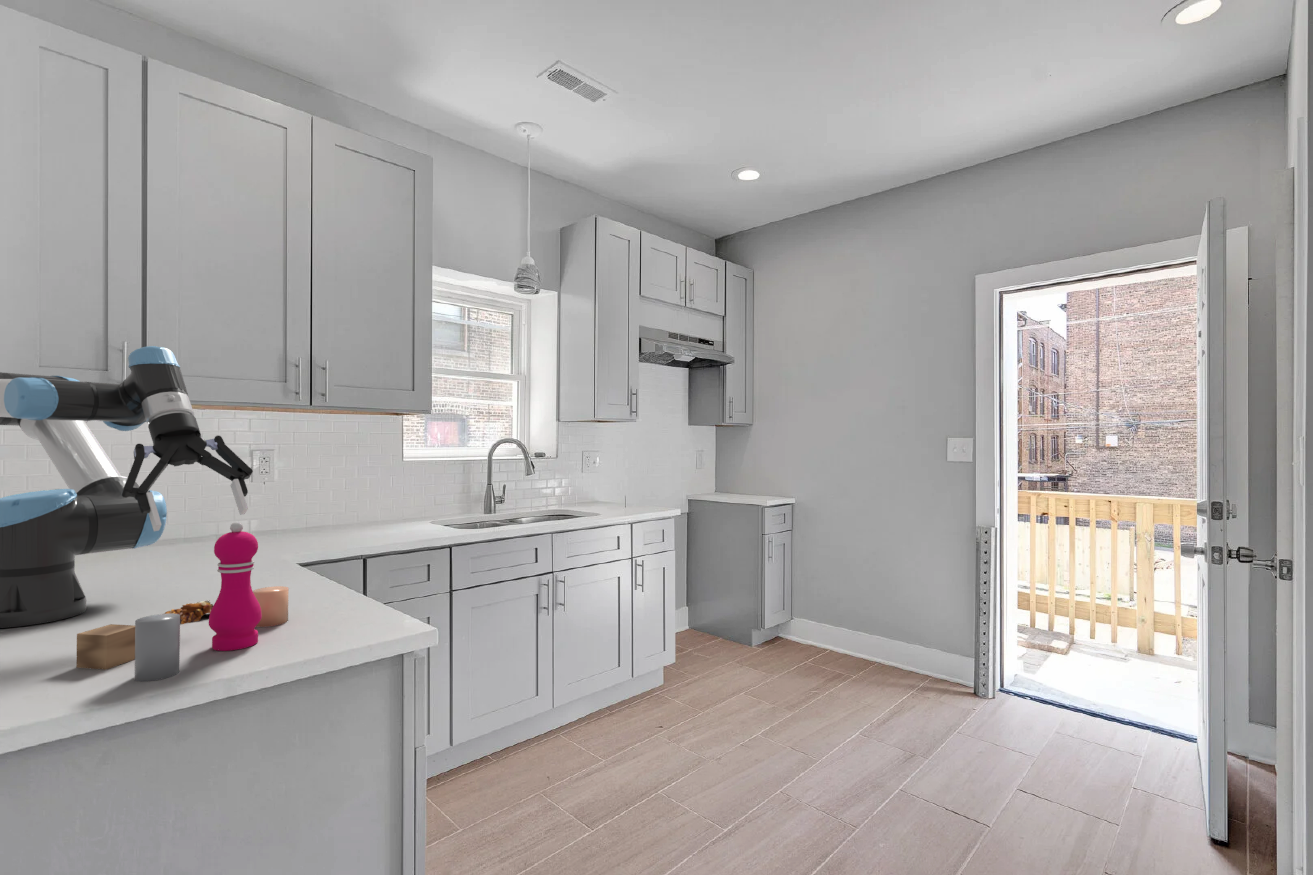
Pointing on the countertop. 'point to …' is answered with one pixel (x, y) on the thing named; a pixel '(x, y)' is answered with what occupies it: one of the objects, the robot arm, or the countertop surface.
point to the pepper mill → (235, 592)
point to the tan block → (106, 646)
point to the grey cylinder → (157, 647)
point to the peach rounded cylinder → (272, 605)
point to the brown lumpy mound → (192, 611)
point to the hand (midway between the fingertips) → (202, 519)
